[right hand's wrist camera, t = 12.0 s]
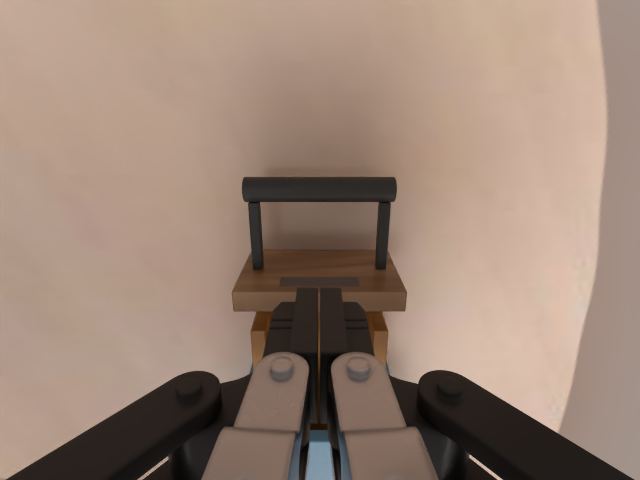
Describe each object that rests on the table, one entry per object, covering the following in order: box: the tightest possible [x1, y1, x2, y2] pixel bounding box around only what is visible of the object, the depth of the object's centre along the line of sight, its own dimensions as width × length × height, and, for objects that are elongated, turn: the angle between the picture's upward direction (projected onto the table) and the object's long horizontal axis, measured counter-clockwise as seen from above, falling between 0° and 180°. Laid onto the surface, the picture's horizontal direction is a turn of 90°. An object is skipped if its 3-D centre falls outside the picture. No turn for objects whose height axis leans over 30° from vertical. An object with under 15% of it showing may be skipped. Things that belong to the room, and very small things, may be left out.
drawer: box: [232, 177, 407, 430], centre depth 24 cm, size 22×9×6 cm, turn 0°
